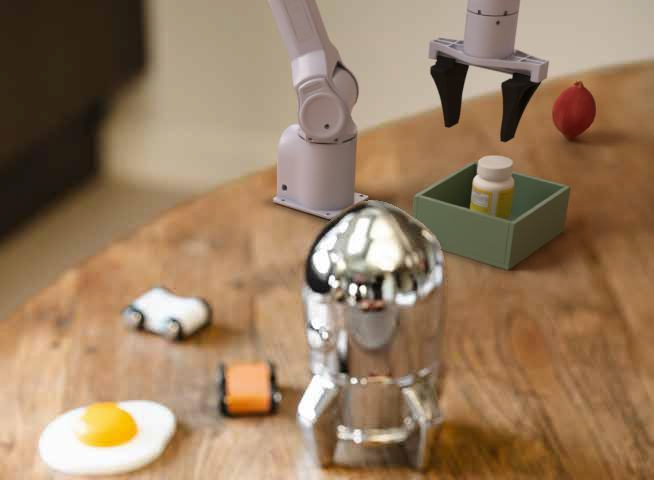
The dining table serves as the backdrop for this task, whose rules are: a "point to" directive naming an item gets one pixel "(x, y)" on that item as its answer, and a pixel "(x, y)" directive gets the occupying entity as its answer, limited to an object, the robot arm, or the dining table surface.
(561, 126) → the onion
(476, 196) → the supplement bottle
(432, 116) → the dining table surface
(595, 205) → the dining table surface
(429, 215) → the bin
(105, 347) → the dining table surface
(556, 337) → the dining table surface
